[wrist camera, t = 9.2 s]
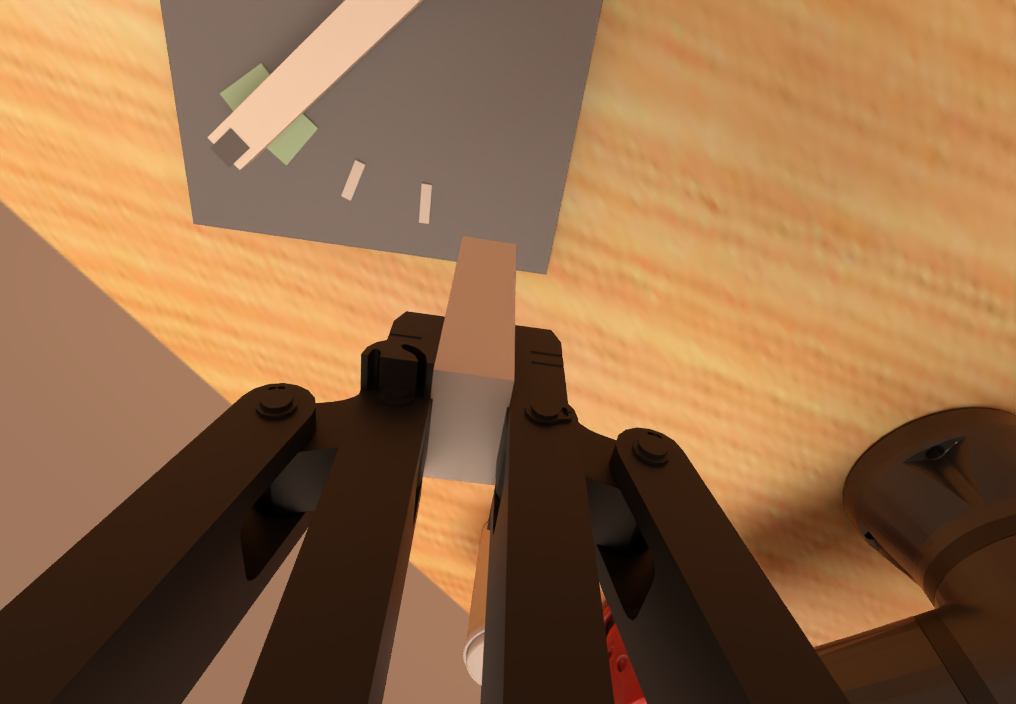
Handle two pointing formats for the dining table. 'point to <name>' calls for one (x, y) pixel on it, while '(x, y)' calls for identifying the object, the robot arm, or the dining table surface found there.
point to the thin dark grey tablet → (391, 124)
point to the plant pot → (621, 666)
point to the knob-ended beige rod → (306, 76)
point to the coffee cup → (478, 612)
